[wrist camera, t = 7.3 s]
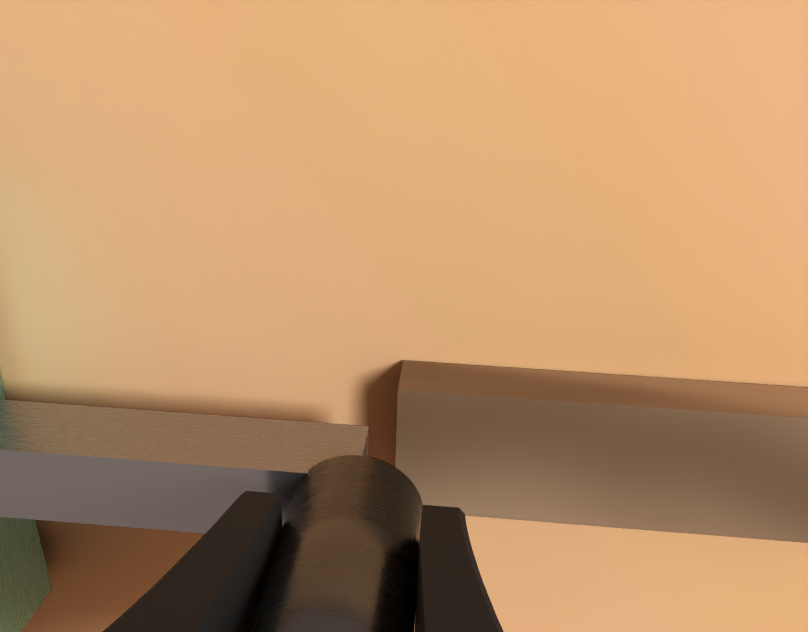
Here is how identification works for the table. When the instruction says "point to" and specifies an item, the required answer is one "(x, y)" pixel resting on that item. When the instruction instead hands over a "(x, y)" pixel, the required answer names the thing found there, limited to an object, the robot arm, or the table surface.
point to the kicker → (216, 504)
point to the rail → (607, 449)
